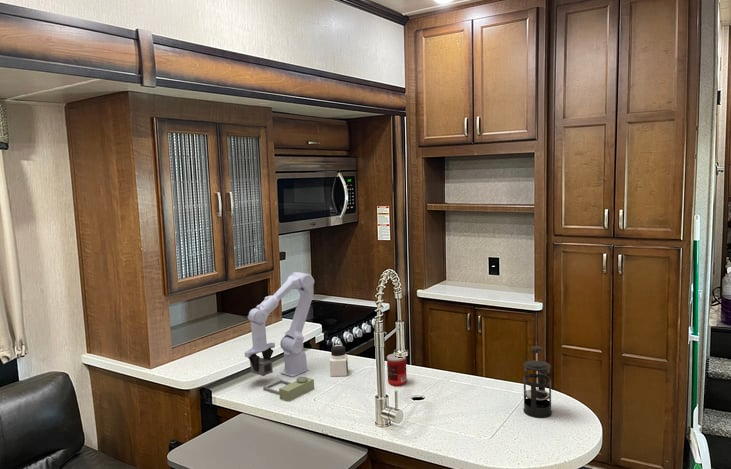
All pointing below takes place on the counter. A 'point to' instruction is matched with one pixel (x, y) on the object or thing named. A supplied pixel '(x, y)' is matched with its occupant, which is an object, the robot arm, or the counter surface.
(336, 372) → the medicine bottle
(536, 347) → the french press
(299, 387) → the grey frame stand
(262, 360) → the chute
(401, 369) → the canned food
